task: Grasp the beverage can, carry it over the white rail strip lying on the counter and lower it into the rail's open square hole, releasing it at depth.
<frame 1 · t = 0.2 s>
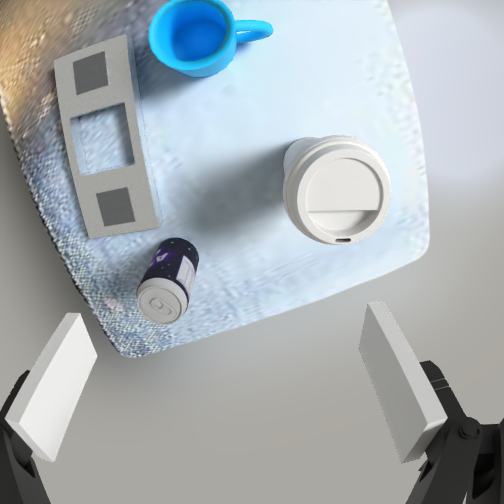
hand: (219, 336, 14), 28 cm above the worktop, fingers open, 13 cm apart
rail: (108, 137, 35), on the worktop
coffee cup: (309, 163, 38), on the worktop
beverage can: (178, 253, 43), on the worktop
mug: (218, 42, 31), on the worktop
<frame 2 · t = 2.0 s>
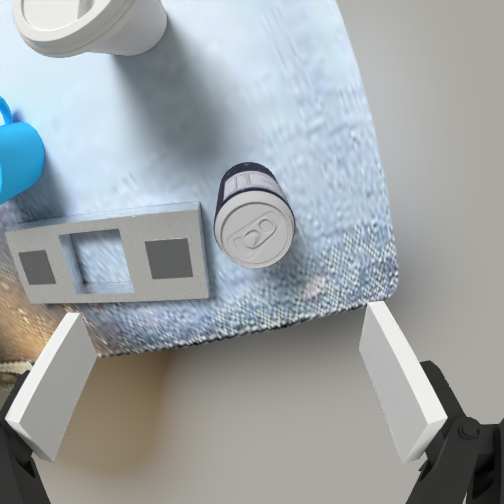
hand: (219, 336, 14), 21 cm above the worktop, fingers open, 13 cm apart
rail: (102, 253, 34), on the worktop
coffee cup: (135, 26, 24), on the worktop
beverage can: (248, 187, 32), on the worktop
mug: (16, 140, 28), on the worktop
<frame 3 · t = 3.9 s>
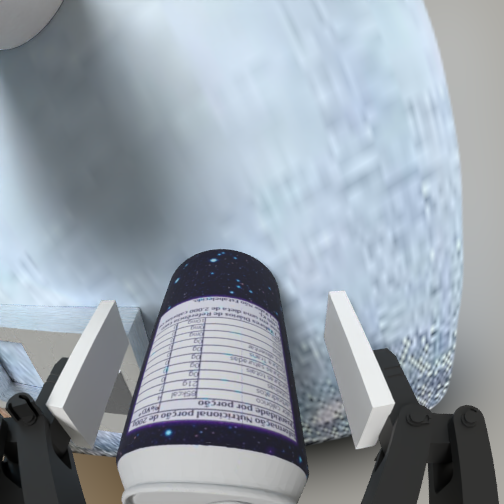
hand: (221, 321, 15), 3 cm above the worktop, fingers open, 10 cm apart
rail: (22, 355, 20), on the worktop
beverage can: (224, 287, 17), on the worktop
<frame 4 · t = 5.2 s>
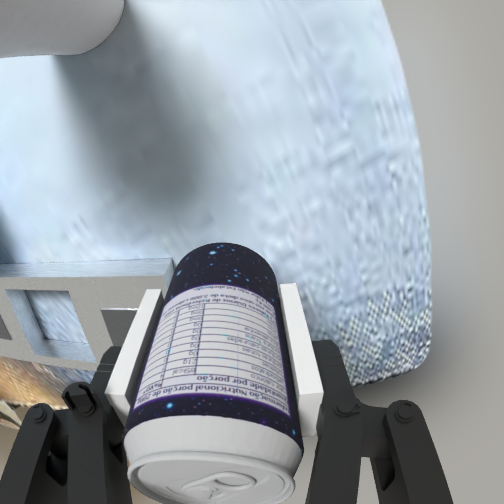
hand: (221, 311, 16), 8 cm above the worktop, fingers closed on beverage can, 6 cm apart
rail: (60, 310, 26), on the worktop
coffee cup: (84, 14, 15), on the worktop
beverage can: (224, 280, 18), point 5 cm above the worktop, touching gripper
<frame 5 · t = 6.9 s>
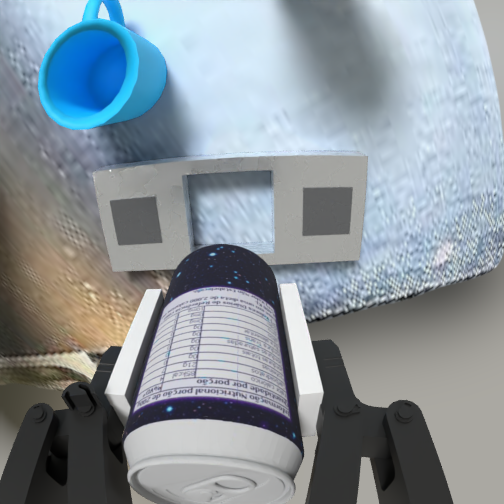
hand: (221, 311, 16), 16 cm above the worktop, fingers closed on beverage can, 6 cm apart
rail: (230, 206, 30), on the worktop
beverage can: (224, 281, 18), point 13 cm above the worktop, touching gripper
mug: (123, 59, 24), on the worktop
when the fingers open (3 cm above the worktop, at t = 9.0 s): beverage can stays where it is, resting in rail.
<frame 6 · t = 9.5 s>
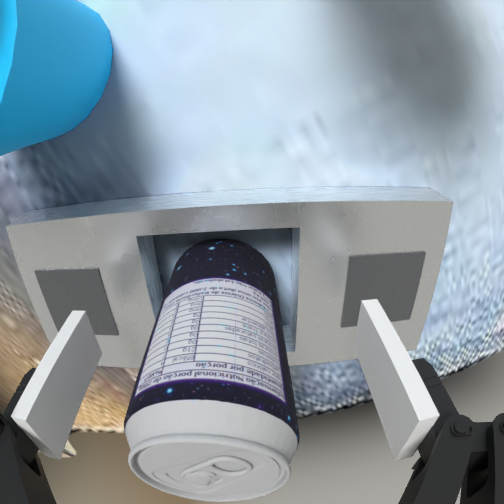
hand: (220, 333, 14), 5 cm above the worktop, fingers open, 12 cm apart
rail: (224, 276, 19), on the worktop
beverage can: (223, 275, 19), resting in rail
mug: (50, 39, 12), on the worktop
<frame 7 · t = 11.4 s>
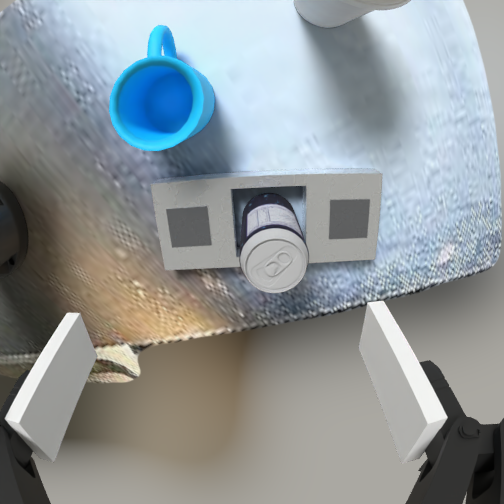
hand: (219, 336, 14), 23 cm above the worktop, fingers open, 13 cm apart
rail: (268, 214, 36), on the worktop
coffee cup: (323, 2, 26), on the worktop
beverage can: (268, 214, 36), resting in rail
mug: (175, 85, 30), on the worktop
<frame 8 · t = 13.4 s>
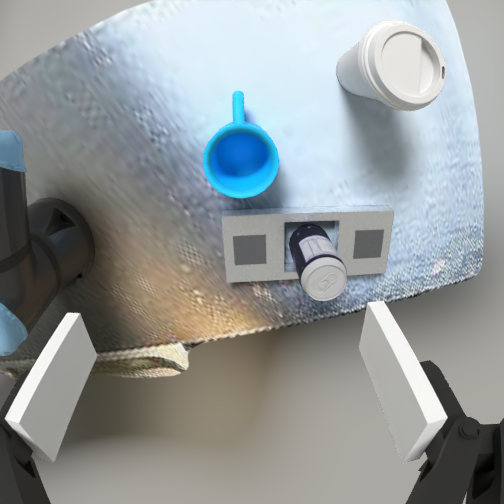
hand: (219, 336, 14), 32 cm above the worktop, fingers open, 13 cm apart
rail: (308, 239, 47), on the worktop
coffee cup: (358, 72, 36), on the worktop
beverage can: (307, 239, 47), resting in rail
mug: (240, 136, 40), on the worktop
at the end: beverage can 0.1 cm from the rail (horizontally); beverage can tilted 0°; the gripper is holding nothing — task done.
